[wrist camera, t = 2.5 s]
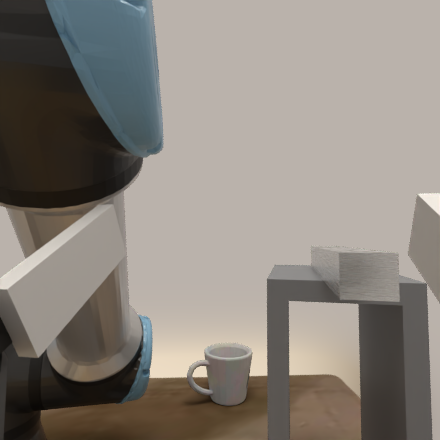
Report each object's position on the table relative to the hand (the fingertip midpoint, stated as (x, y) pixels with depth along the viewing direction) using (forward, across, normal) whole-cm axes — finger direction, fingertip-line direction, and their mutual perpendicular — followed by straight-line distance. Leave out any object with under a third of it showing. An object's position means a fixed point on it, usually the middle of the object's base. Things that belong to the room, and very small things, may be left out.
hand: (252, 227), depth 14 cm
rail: (+16, +6, -14) cm, 22 cm away
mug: (+32, -14, -56) cm, 66 cm away
